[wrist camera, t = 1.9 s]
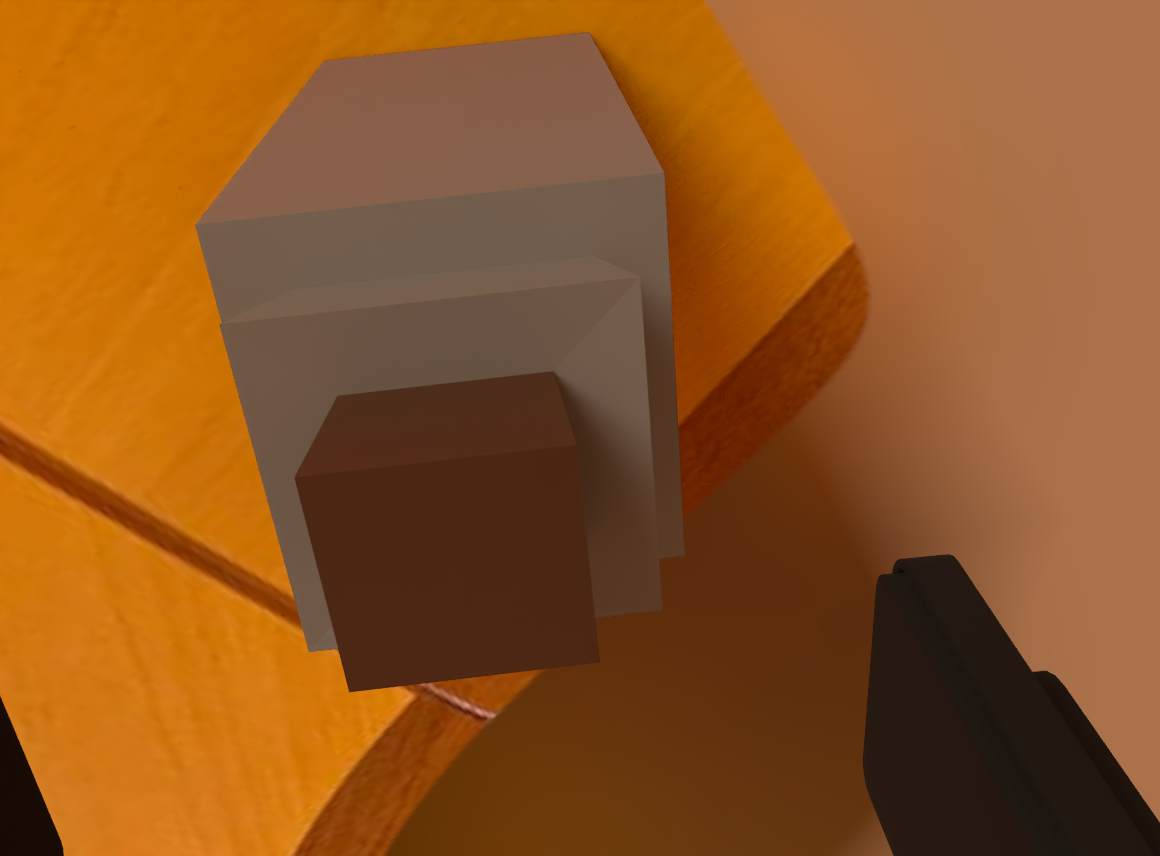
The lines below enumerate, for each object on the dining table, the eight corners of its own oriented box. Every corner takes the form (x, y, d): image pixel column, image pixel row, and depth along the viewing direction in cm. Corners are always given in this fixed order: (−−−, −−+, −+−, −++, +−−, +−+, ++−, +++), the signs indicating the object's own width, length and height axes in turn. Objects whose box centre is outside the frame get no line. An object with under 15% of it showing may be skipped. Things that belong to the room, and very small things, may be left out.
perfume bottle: (324, 61, 27) (93, 355, 11) (589, 32, 27) (724, 284, 11) (372, 307, 30) (245, 804, 15) (609, 281, 31) (737, 745, 15)
